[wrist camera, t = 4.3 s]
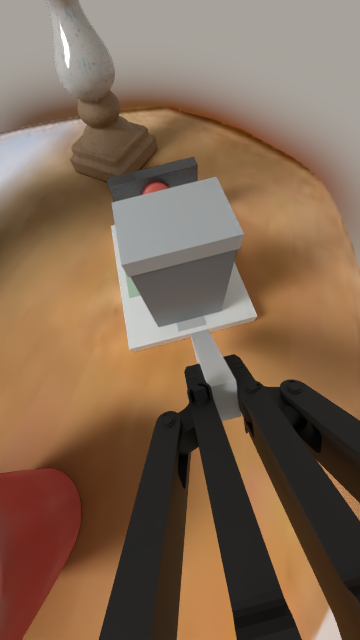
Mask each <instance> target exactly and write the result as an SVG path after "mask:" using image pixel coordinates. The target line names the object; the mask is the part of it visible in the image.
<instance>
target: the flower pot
mask: <svg viewBox="0 0 360 640" xmlns="http://www.w3.org/2000/svg"><path fill="white" fill-rule="evenodd" d="M80 524H81V501H80V497H79V493H78V491H77V488H76V486H75V484H74V483H73V481H72V480H71V479H70V478H69V477H68V476H67V475H66V474H65V473H63V472H61V471H59V470H56V469H52V468H42V469H34V470H23V471H15V472H7V473H1V474H0V640H22V638H23V636H24V635H25V633H26V631H27V630H28V628H29V626H30V625H31V623H32V621H33V619H34V618H35V616H36V614H37V613H38V611H39V609H40V607H41V606H42V604H43V602H44V601H45V599H46V597H47V595H48V594H49V592H50V590H51V588H52V587H53V585H54V583H55V581H56V579H57V578H58V576H59V574H60V572H61V570H62V568H63V566H64V565H65V563H66V561H67V559H68V557H69V555H70V553H71V551H72V549H73V547H74V545H75V542H76V540H77V536H78V533H79V529H80Z"/></svg>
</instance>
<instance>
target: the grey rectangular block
mask: <svg viewBox="0 0 360 640" xmlns="http://www.w3.org/2000/svg"><path fill="white" fill-rule="evenodd" d="M112 210H113V216H114V222H115V229H116V235H117V241H118V248H119V254H120V260H121V266H122V267H123V269H124V271H125V272H126V274H127V276H128V277H131V279H132V281H133V283H134V284H135V286H136V288H137V290H138V292H139V293H140V295H141V297H142V299H143V301H144V302H145V304H146V306H147V308H148V310H149V311H150V313H151V315H152V317H153V319H154V320H155V322H156V324H157V326H158V327H162V326H166V325H170V324H173V323H177V322H181V321H185V320H189V319H193V318H197V317H201V316H204V315H208V314H212V313H216V312H220V311H221V310H222V307H223V303H224V299H225V295H226V291H227V288H228V284H229V280H230V276H231V272H232V268H233V265H234V261H235V257H236V253H237V249H240V247H241V243H242V240H243V236H244V233H243V231H242V229H241V227H240V224H239V222H238V220H237V218H236V216H235V214H234V212H233V210H232V208H231V206H230V204H229V202H228V199H227V197H226V195H225V193H224V191H223V189H222V187H221V185H220V183H219V181H218V179H217V177H212V178H208V179H204V180H200V181H196V182H192V183H188V184H184V185H180V186H176V187H172V188H168V189H164V190H160V191H156V192H152V193H148V194H144V195H140V196H136V197H132V198H128V199H124V200H120V201H116V202H112Z"/></svg>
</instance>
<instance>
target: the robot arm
mask: <svg viewBox="0 0 360 640" xmlns="http://www.w3.org/2000/svg"><path fill="white" fill-rule="evenodd" d="M190 334H191V339H192V343H193V347H194V351H195V356H196V360H197V363H198V364H196V365H192V366H188V367H186V369H185V372H184V373H185V378H186V383H187V388H188V390H187V394H188V398H189V404H188V406H187V407H186V408H185V409H184V410H182V411H181V412H179V413H176V412H175V411H168V412H165V413H163V414H161V415H160V416H159V418H158V419H157V421H156V425H155V428H154V432H153V436H152V440H151V444H150V447H149V451H148V455H147V459H146V463H145V466H144V470H143V474H142V478H141V481H140V485H139V489H138V493H137V497H136V500H135V504H134V508H133V512H132V516H131V519H130V523H129V527H128V531H127V535H126V538H125V542H124V546H123V550H122V554H121V557H120V561H119V565H118V569H117V572H116V576H115V580H114V584H113V588H112V591H111V595H110V599H109V603H108V607H107V610H106V614H105V618H104V622H103V626H102V629H101V633H100V637H99V640H177V627H178V614H179V601H180V588H181V575H182V562H183V549H184V535H185V522H186V509H187V496H188V483H189V470H190V457H191V452H192V451H193V450H195V449H196V448H198V447H199V449H200V454H201V459H202V464H203V469H204V474H205V479H206V484H207V489H208V494H209V499H210V504H211V508H212V513H213V518H214V523H215V528H216V533H217V538H218V543H219V548H220V553H221V558H222V563H223V567H224V572H225V577H226V582H227V587H228V592H229V597H230V602H231V607H232V612H233V618H234V624H235V631H236V637H237V640H302V639H301V637H300V634H299V631H298V629H297V626H296V624H295V621H294V619H293V616H292V614H291V612H290V610H289V608H288V606H287V603H286V601H285V599H284V596H283V593H282V590H281V588H280V585H279V582H278V579H277V576H276V574H275V571H274V568H273V565H272V562H271V560H270V557H269V554H268V551H267V548H266V545H265V543H264V540H263V537H262V534H261V531H260V528H259V526H258V523H257V520H256V517H255V514H254V512H253V509H252V506H251V503H250V500H249V497H248V495H247V492H246V489H245V486H244V483H243V480H242V478H241V475H240V472H239V469H238V466H237V464H236V461H235V458H234V455H233V452H232V449H231V447H230V444H229V441H228V438H227V435H226V433H225V430H224V427H223V424H222V421H224V420H228V419H232V418H236V417H240V416H241V413H242V415H243V417H244V424H245V431H246V433H248V432H249V434H250V437H251V439H252V441H253V443H254V445H255V447H256V449H257V452H258V454H259V456H260V458H261V460H262V462H263V464H264V467H265V469H266V471H267V473H268V475H269V477H270V479H271V482H272V484H273V486H274V488H275V490H276V492H277V494H278V497H279V499H280V501H281V503H282V505H283V507H284V509H285V512H286V514H287V516H288V518H289V520H290V522H291V524H292V527H293V529H294V531H295V533H296V535H297V537H298V539H299V542H300V544H301V546H302V548H303V550H304V552H305V554H306V557H307V559H308V561H309V563H310V565H311V567H312V569H313V572H314V574H315V576H316V578H317V580H318V582H319V585H320V587H321V589H322V591H323V593H324V595H325V597H326V600H327V602H328V604H329V606H330V608H331V610H332V613H333V615H334V617H335V620H336V622H337V625H338V628H339V632H340V635H341V638H342V640H360V521H359V519H358V518H357V516H356V515H355V514H354V512H353V511H352V509H351V508H350V507H349V505H348V504H347V502H346V501H345V500H344V498H343V497H342V495H341V494H340V493H339V491H338V490H337V488H336V487H335V486H334V484H333V483H332V481H331V480H330V479H329V477H328V476H327V474H326V473H325V472H324V470H323V469H322V467H321V466H320V465H319V463H320V464H321V465H322V466H323V467H324V468H325V469H326V470H327V471H328V472H329V473H330V474H331V475H332V476H333V477H334V478H335V479H336V480H337V481H338V482H339V483H340V484H341V485H342V486H343V487H344V488H345V489H346V490H347V491H348V492H349V493H350V494H351V495H352V496H353V497H354V498H355V499H356V500H357V501H358V502H359V503H360V421H359V420H358V419H356V418H355V417H353V416H352V415H350V414H349V413H347V412H346V411H344V410H343V409H341V408H340V407H338V406H337V405H335V404H334V403H332V402H331V401H330V400H328V399H327V398H325V397H324V396H322V395H321V394H319V393H318V392H316V391H315V390H313V389H312V388H310V387H309V386H307V385H306V384H304V383H302V382H300V381H297V380H286V381H283V382H282V383H281V385H280V387H266V386H263V385H262V384H261V383H260V382H257V381H255V379H254V378H253V376H252V375H251V373H250V372H249V371H248V369H247V368H246V367H245V365H244V363H243V362H242V360H241V359H240V357H238V356H236V355H234V354H233V355H229V356H225V357H223V356H222V354H221V352H220V351H219V349H218V347H217V345H216V343H215V342H214V340H213V338H212V336H211V334H210V332H209V331H208V329H206V330H202V331H198V332H194V333H190ZM240 411H241V412H240ZM317 461H318V462H319V463H318V462H317Z"/></svg>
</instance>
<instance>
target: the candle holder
mask: <svg viewBox="0 0 360 640" xmlns="http://www.w3.org/2000/svg"><path fill="white" fill-rule="evenodd" d="M45 1H46V3H47V5H48V8H49V10H50V14H51V20H52V26H53V38H54V59H55V66H56V71H57V74H58V77H59V80H60V82H61V84H62V85H63V87H64V88H65V90H66V91H68V92H69V93H70V94H71V95H72V96H74V97H76V98H78V99H79V101H78V113H79V116H80V118H81V119H82V121H83V122H85V123H86V124H87V126H86V128H85V130H84V133H83V135H82V136H81V137H80V138H79V139H78V140H77V141H76V142H75V143H74V144H73V146H72V149H71V150H72V152H73V156H72V158H71V159H70V161H71V163H72V165H73V167H74V168H75V170H76V171H77V172H79V173H81V174H84V175H87V176H90V177H93V178H96V179H99V180H102V181H105V182H107V178H111V177H115V176H119V175H123V174H127V173H131V172H135V171H139V170H140V169H141V168H142V167H143V165H144V164H145V163H146V162H147V161H148V160H149V159H150V158H151V156H152V155H153V154H154V153H155V151H156V150H157V145H156V140H155V137H154V136H151V135H149V133H148V129H147V128H146V127H144V126H142V125H138V124H134V123H131V122H128V121H127V120H126V119H124V118H123V117H121V116H119V113H120V104H119V101H118V99H117V97H116V96H115V95H114V94H113V93H112V92H111V91H110V89H111V87H112V85H113V82H114V77H115V71H114V70H115V69H114V64H113V61H112V58H111V55H110V53H109V51H108V49H107V48H106V46H105V44H104V43H103V41H102V40H101V38H100V37H99V35H98V34H97V33H96V31H95V30H94V28H93V27H92V25H91V24H90V22H89V21H88V19H87V18H86V16H85V14H84V12H83V10H82V8H81V6H80V4H79V1H78V0H45Z"/></svg>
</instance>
